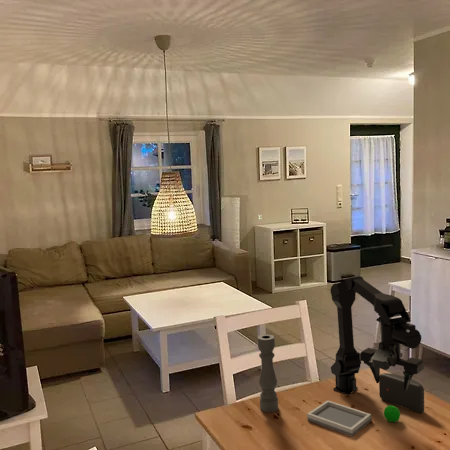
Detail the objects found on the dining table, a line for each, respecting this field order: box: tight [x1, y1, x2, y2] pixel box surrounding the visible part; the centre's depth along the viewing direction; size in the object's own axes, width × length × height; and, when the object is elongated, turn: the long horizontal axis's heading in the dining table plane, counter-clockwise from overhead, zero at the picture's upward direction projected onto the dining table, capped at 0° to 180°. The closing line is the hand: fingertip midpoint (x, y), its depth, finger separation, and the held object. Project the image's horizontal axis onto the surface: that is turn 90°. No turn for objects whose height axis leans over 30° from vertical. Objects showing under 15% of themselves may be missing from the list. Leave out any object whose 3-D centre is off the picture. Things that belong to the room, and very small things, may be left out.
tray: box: [306, 400, 372, 437], centre depth 159 cm, size 16×12×2 cm
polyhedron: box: [383, 405, 401, 423], centre depth 157 cm, size 5×5×5 cm
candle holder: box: [257, 334, 279, 413], centre depth 169 cm, size 6×6×25 cm
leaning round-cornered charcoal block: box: [378, 372, 425, 414], centre depth 167 cm, size 16×5×9 cm, turn 39°
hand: (391, 386), depth 156 cm, fingers open, 9 cm apart
